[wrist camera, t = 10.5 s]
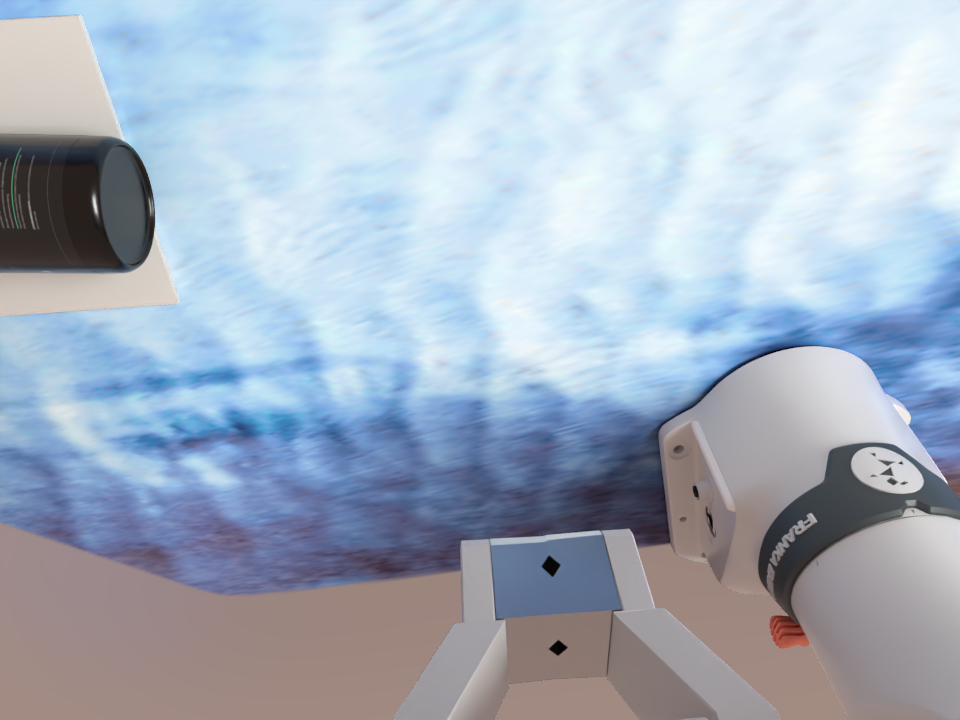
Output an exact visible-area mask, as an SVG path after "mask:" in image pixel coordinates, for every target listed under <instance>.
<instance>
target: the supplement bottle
mask: <svg viewBox="0 0 960 720" xmlns="http://www.w3.org/2000/svg"><path fill="white" fill-rule="evenodd" d="M154 230H155V208H154V199H153V193H152V188H151V184H150V180H149V177H148V174H147V171H146V169H145V166H144V164H143V162H142V160H141V159H140V157H139V155H138V154H137V152H136V151H135V150H134V149H133V148H132V147H131V146H130V145H129V144H128V143H126V142H125V141H123V140H121V139H119V138H116V137H112V136H94V135H51V134H0V273H48V274H117V273H129V272H132V271H134V270H136V269H137V268H139V267H140V266H141V265H142V264H143V263H144V262H145V261H146V259H147V257H148V255H149V253H150V250H151V247H152V243H153V238H154Z"/></svg>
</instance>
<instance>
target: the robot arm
mask: <svg viewBox="0 0 960 720" xmlns="http://www.w3.org/2000/svg"><path fill="white" fill-rule="evenodd" d="M910 421H911V416H910V414H909V412H908V411H907V410H906V408H905V407H904V405H903V404H902V403H901V402H899V401H898V400H896V399H895V398H893V397H891V396H889V395H887V394H885V393H884V391H883V390H882V388H881V386H880V384H879V382H878V380H877V378H876V376H875V375H874V373H873V371H872V370H871V369H870V367H869V366H868V365H867V364H866V363H865V362H863V361H862V360H861V359H859V358H858V357H856V356H855V355H853V354H851V353H848V352H846V351H843V350H839V349H835V348H829V347H820V346H809V347H797V348H791V349H786V350H782V351H778V352H775V353H772V354H769V355H766V356H763V357H761V358H758V359H756V360H754V361H752V362H750V363H748V364H746V365H744V366H742V367H741V368H739V369H737V370H736V371H734V372H733V373H731V374H730V375H728V376H727V377H726V378H724V379H723V380H722V381H721V382H720V383H718V384H717V385H716V386H715V387H714V388H713V389H712V390H711V391H710V392H709V393H708V394H707V395H706V396H705V397H704V398H703V399H702V400H701V401H700V402H699V403H698V404H697V405H696V406H694V407H693V408H691V409H689V410H687V411H686V412H684V413H682V414H680V415H678V416H676V417H675V418H673V419H671V420H670V421H668V422H667V423H665V424H664V425H663V426H662V427H661V429H660V431H659V434H658V437H659V446H660V455H661V464H662V473H663V481H664V490H665V499H666V507H667V516H668V525H669V534H670V541H671V546H672V548H673V550H674V552H675V554H676V555H677V556H679V557H682V558H684V559H687V560H691V561H696V562H700V563H708V564H710V567H711V569H712V571H713V573H714V575H715V577H716V578H717V580H718V582H720V584H721V585H722V586H724V587H725V588H727V589H729V590H731V591H734V592H737V593H741V594H746V595H754V596H765V597H772V598H773V599H774V600H775V601H776V602H777V603H778V604H779V605H780V606H781V608H782V609H783V610H784V611H785V612H786V613H787V614H788V615H789V616H773V617H771V619H770V629H771V635H772V636H773V640H774V642H776V643H775V644H776V645H777V646H779V648H788V647H791V646H795V645H801V646H807V645H808V644H809V643H810V645H811V647H812V649H813V651H814V653H815V655H816V657H817V659H818V661H819V663H820V665H821V667H822V669H823V671H824V673H825V675H826V677H827V679H828V681H829V683H830V685H831V687H832V689H833V691H834V693H835V694H836V696H837V698H838V700H839V702H840V704H841V706H842V708H843V710H844V712H845V714H846V716H847V718H848V720H960V498H959V497H958V496H957V495H956V494H955V492H954V491H953V490H952V489H951V488H950V487H949V485H948V484H947V482H946V480H945V478H944V476H943V475H942V474H941V472H940V471H939V469H938V468H937V466H936V465H935V463H934V462H933V460H932V459H931V457H930V456H929V455H928V453H927V452H926V450H925V449H924V447H923V446H922V444H921V443H920V442H919V440H918V439H917V437H916V436H915V435H914V433H913V432H912V430H911V429H910V427H909V426H908V425H909V423H910ZM679 445H680V446H679ZM676 446H678V447H676ZM490 545H491V551H490ZM460 556H461V588H462V589H461V590H462V623H455V624H453V626H452V628H451V629H450V631H449V632H448V634H447V635H446V637H445V638H444V640H443V641H442V643H441V645H440V646H439V648H438V649H437V651H436V652H435V654H434V655H433V657H432V658H431V660H430V662H429V663H428V665H427V666H426V668H425V669H424V671H423V673H422V674H421V676H420V677H419V679H418V680H417V682H416V683H415V685H414V687H413V688H412V690H411V691H410V693H409V694H408V696H407V697H406V699H405V700H404V702H403V704H402V705H401V707H400V708H399V710H398V711H397V713H396V714H395V716H394V718H393V719H392V720H494V719H495V717H496V714H497V712H498V710H499V708H500V706H501V704H502V702H503V699H504V697H505V695H506V693H507V691H508V689H509V684H514V683H523V682H533V681H542V680H552V679H568V678H588V677H607V680H608V681H609V682H610V683H611V685H612V686H613V687H614V688H615V690H616V691H617V692H618V693H619V695H620V696H621V697H622V698H623V700H624V701H625V702H626V703H627V705H628V706H629V707H630V708H631V709H632V711H633V712H634V713H635V715H636V716H637V717H638V718H639V719H640V720H780V717H779V715H778V712H777V710H776V709H775V708H774V707H773V706H771V705H770V704H769V703H768V702H767V701H766V700H765V699H764V698H763V697H762V696H761V695H759V694H758V693H757V692H756V691H755V690H754V689H753V688H752V687H750V685H748V684H747V683H746V682H745V681H744V680H743V679H742V678H741V677H740V676H738V675H737V674H736V673H735V672H734V671H733V670H732V669H731V668H729V666H727V665H726V664H725V663H724V662H723V661H722V660H721V659H720V658H719V657H717V655H715V654H714V653H713V652H712V651H711V650H710V649H709V648H708V647H707V646H705V645H704V644H703V643H702V642H701V641H700V640H699V639H698V638H697V637H696V636H694V635H693V634H692V633H691V632H690V631H689V630H688V629H687V628H686V627H685V626H683V625H682V624H681V623H680V622H679V621H678V620H677V619H676V618H675V617H674V616H672V615H671V614H670V613H669V612H668V611H667V610H666V609H665V608H655V605H654V602H653V598H652V595H651V592H650V588H649V585H648V582H647V579H646V576H645V572H644V569H643V565H642V562H641V559H640V556H639V552H638V549H637V546H636V542H635V539H634V536H633V533H632V532H631V531H630V529H619V530H606V531H601V532H600V531H587V532H576V533H564V534H553V535H545V536H538V537H517V538H497V539H490V541H489V539H481V540H465V541H461V548H460ZM491 561H492V564H491ZM492 575H493V576H492Z"/></svg>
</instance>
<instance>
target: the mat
mask: <svg viewBox="0 0 960 720" xmlns="http://www.w3.org/2000/svg"><path fill="white" fill-rule="evenodd" d="M0 134H51V135H94V136H112V137H116V138H119V139H121V140H123V141H125V139H124V136H123V133H122V130H121V127H120V124H119V121H118V118H117V115H116V112H115V110H114V107H113V104H112V101H111V98H110V95H109V92H108V89H107V86H106V83H105V81H104V78H103V75H102V72H101V69H100V66H99V63H98V60H97V57H96V54H95V51H94V49H93V46H92V43H91V40H90V37H89V34H88V31H87V28H86V25H85V22H84V19H83V17H82V15H66V16H48V17H31V18H13V19H0ZM179 302H180V298H179V296H178V293H177V290H176V287H175V284H174V281H173V278H172V275H171V272H170V269H169V266H168V264H167V261H166V258H165V255H164V252H163V249H162V246H161V243H160V240H159V237H158V235H157V232H156V229H155V230H154V238H153V243H152V247H151V250H150V253H149V255H148V257H147V259H146V261H145V262H144V263H143V264H142V265H141V266H140V267H139V268H137V269H136V270H134V271H132V272H129V273H117V274H48V273H0V316H12V315H26V314H40V313H55V312H69V311H83V310H98V309H112V308H126V307H140V306H155V305H169V304H179Z"/></svg>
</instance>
